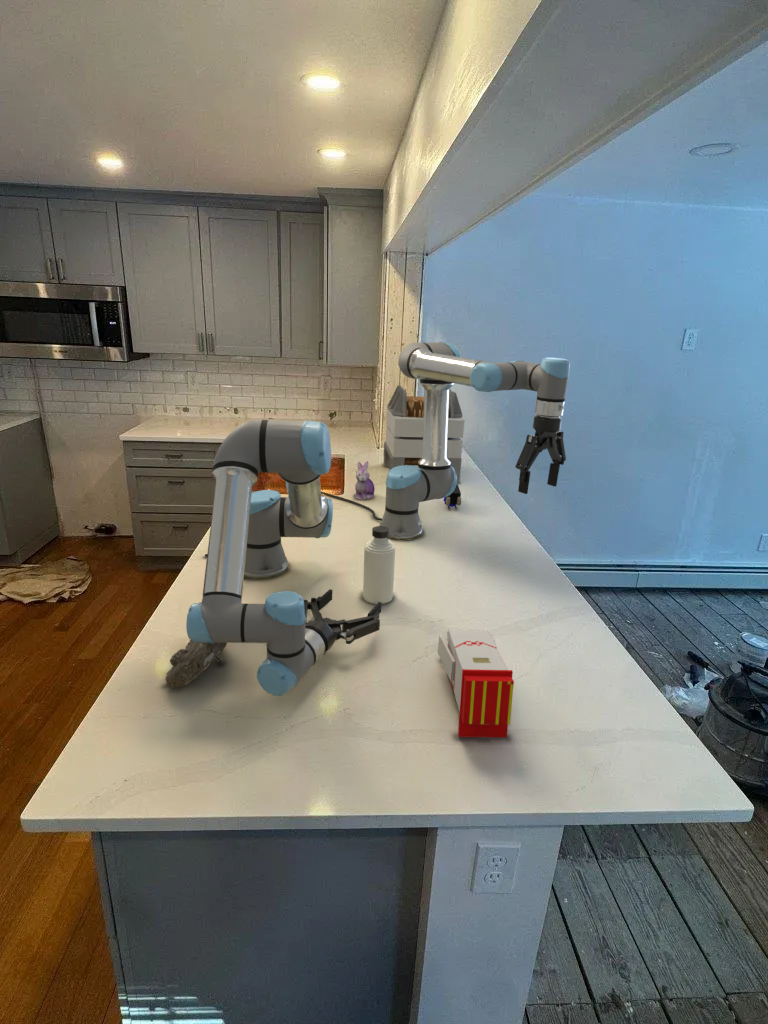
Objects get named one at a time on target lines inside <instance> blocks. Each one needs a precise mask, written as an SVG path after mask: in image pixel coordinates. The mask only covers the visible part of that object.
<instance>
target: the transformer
mask: <svg viewBox="0 0 768 1024" xmlns="http://www.w3.org/2000/svg"><path fill="white" fill-rule="evenodd" d="M407 394H408V393H407V390H406V389H404V388H403V387H402V385H399V384H398V385H397V386H396V388H395V390H394V392H393V394H392V395H391V398H390V400H389V402H388V404H387V405H386V413H385V414H386V415H385V423H386V428H385V438H384V442H383V466H384V467H388V468H389V471H390V470H391V469H392V468H394V467H397V466H402V465H405V466H407V465H413V466H417V467H418V461H419V460H420V459H421V458H422V456H423V419H424V396H415V395H414V396H413V395H412V396H411V395H407ZM464 429H465V419H464V418H463V411H462V408H461V405H460V402H459V398H458V395H457V392H455V391H453V390H452V389H451V388H450V389H449V411H448V436H447V459H448V460H449V461H450V462H451V467H453V468H454V470H455V473H456V475H457V484H459V483H461V472H462V461H463V460H462V453H463V442H464V441H463V440H462V439H463V438H464V431H465V430H464Z"/></svg>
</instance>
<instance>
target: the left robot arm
mask: <svg viewBox="0 0 768 1024" xmlns="http://www.w3.org/2000/svg"><path fill="white" fill-rule="evenodd" d="M331 467H332V445H331V436H330V430H329V428H328V426H327V425H326V424H325V423H324V422H323V421H313V420H311V419H309V420H280V419H261V418H260V419H259V418H258V419H257V418H256V419H251V420H248V421H246V422H243V423H241V424H240V425H238V426H237V427H236V428H234V429H233V430H231V431H230V432H229V434H228V435H227V436H226V437H225V438H224V440H223V441H222V443H221V444H220V446H219V448H218V449H217V452H216V454H215V456H214V459H213V464H212V468H211V469H212V470H211V477H212V479H213V481H214V482H215V487H214V493H213V494H214V495H213V504H212V511H211V519H210V529H209V536H208V545H207V553H205V554H204V557H206V563H205V571H204V579H203V589H202V599H201V602H195V603H192V604H191V605H190V606H189V608H188V613H187V614H186V623H185V624H186V625H185V626H186V635H187V637H188V639H189V640H192V641H193V642H206V643H212V644H214V643H227V644H240V643H241V644H266V658H265V660H263V661H262V663H261V664H260V665H259V666H258V668H257V671H256V679H257V683H258V684H259V685H260V688H262V690H263V691H264V692H266V693H267V694H269V695H272V696H276V697H280V696H281V697H282V696H284V695H287V693H288V692H290V691H291V690H292V689H293V688H295V687H296V686H297V685H298V683H299V682H300V681H301V680H302V679H303V678H304V677H305V676H306V675H307V674H308V673H309V671H310V670H311V669H312V668H313V667H314V666H315V665H316V664H317V663H318V662H319V661H320V659H322V657H324V655H325V654H327V653H328V652H329V651H330V650H331V648H332V647H333V646H334V644H335V643H336V642H337V641H338V640H341V639H342V640H344V641H345V644H346V645H351V644H352V643H353V642H355V641H356V640H359V639H361V638H363V637H366V636H368V635H370V634H373V633H375V632H378V631H380V626H381V620H380V615H381V613H382V609H383V608H382V606H383V604H382V602H378V603H377V604H375V605H374V606H373V607H372V608H371V609H370V610H369V611H368V613H367V616H363V617H358V618H353V619H348V620H347V619H344V618H343V619H338V620H337V619H331V618H330V617H323V615H322V613H321V611H322V609H324V608H325V607H326V606H327V605H328V604H329V603H330V602H331V601H332V600H333V589H331V588H329V589H328V590H327V591H326V592H324V593H323V594H322V595H319V596H317V597H311V598H310V601H309V600H308V599H303V597H302V596H301V595H300V594H299V593H298V592H295V591H291V590H280V591H279V592H277V591H276V592H275V591H274V592H272V593H271V594H269V595H268V596H267V597H266V598H265V602H264V603H242V598H243V592H244V582H245V581H244V580H245V578H248V579H255V580H263V579H264V580H265V579H270V578H275V577H278V576H280V575H282V574H284V573H286V572H287V570H288V568H289V567H288V564H289V562H288V561H289V560H288V558H287V555H286V553H285V550H284V546H283V545H282V538H306V539H307V538H308V539H309V538H311V539H313V538H314V539H320V538H327V537H329V536H330V535H331V532H332V524H333V513H334V512H333V511H334V504H333V500H332V498H329V497H325V495H324V494H321V492H322V488H321V487H322V486H321V477H322V475H326V474H329V472H330V471H331ZM260 473H264V474H266V473H267V474H278V476H279V477H280V478H281V479H282V480H283V481H284V482H285V486H286V491H287V496H282V495H281V493H280V492H279V491H278V490H274V489H263V490H262V489H261V490H256V491H253V486H254V485H256V484H257V483H258V479H259V474H260ZM309 610H310V612H311V615H312V619H311V620H309V621H308V615H309Z"/></svg>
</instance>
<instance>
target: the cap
mask: <svg viewBox="0 0 768 1024" xmlns="http://www.w3.org/2000/svg"><path fill="white" fill-rule="evenodd" d="M371 536H372V537H373V538H374V537H375V538H380V539H383V538H387V537H388V536H389V528H387V527H384V526H380V525H376V526H374V527H372V529H371ZM387 539H388V538H387Z"/></svg>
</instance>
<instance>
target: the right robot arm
mask: <svg viewBox="0 0 768 1024" xmlns="http://www.w3.org/2000/svg"><path fill="white" fill-rule="evenodd" d="M398 367H399V370H400V371H401V373H402V374H403V375H404V376H405V377H407V378H409V379H413V380H419V385H420V386H421V387H422V388H423V397H424V419H423V456H422V458H421V459H420V460H419V461H418V466H413V465H402V466H397V467H394V468H392V469H391V470H390V469H389V470H388V472H387V475H386V479H385V504H384V505H385V507H384V508H385V509H384V513H383V515H382V517H378V516H376V513H375V511H374V510H373V509H372V508H370V507H368V506H367V505H364V504H362V503H359V502H356V501H354V500H351V499H348V498H345V497H342V496H338V495H335V494H331V493H327V492H324V491H321V494H322V495H323V496H327V497H331V498H335V499H338V500H340V501H345V502H348V503H350V504H354V505H356V506H359V507H361V508H364V509H366V510H367V511H369V512H370V513H372V517H373V519H375V520H377V521H379V526H384V527H387V528H389V536H388V537H387V539H389V540H395V541H410V540H415V539H418V538H420V537H421V536H422V535H423V525H422V520H421V518H420V515H419V507H420V506H419V505H420V503H422V502H428V501H433V500H441V499H444V497H447V496H449V495H450V494H451V493H452V492H453V491H454V490H455V487H456V484H458V483H457V475H456V473H455V470H454V468H453V467H451V462H450V461H449V460H448V459H447V436H448V411H449V389H450V390H451V388H452V387H453V386H454V385H455V384H457V385H462V386H466V387H472V388H473V389H475V390H476V391H478V392H484V393H491V392H500V391H516V390H517V391H519V390H526V391H533V392H536V399H535V400H536V401H535V405H534V406H535V407H534V414H535V415H533V421H532V422H533V423H532V428H533V430H534V431H535V432H534V434H533V435H532V434H530V433H528V434H527V435H526V438H525V443H524V445H523V447H522V450H521V452H520V454H519V456H518V459H517V461H516V463H515V469H517V470H519V478H518V489H517V492H518V493H522V494H524V495H528V492H529V485H530V480H531V479H530V478H531V472H532V471H531V470H530V469H531V467H532V466H533V464H534V462H535V461H536V459H537V458H538V456H539V455H540V453H542V452H543V451H545V450H547V452H548V454H549V456H550V459H551V462H550V464H549V469H548V476H547V482H546V483H547V484H546V485H549V486H551V487H557V486H558V478H559V473H560V468H561V466H564V464H565V462H566V459H567V456H566V449H565V443H564V431H562V430H561V429H562V422H563V419H562V416H563V415H564V409H565V402H566V394H567V388H568V384H569V378H570V370H571V369H570V368H571V362H570V360H568V359H566V358H562V357H544V358H542V359H541V363H535V362H529V361H525V360H511V361H509V362H495V361H494V362H493V361H486V360H482V359H481V360H480V359H474V358H466V357H462V354H461V352H460V350H459V349H458V347H457V346H456V345H454V344H452V343H451V342H449V343H448V342H442V341H439V342H438V341H437V342H420V341H419V342H412V343H409V344H408V345H406V346H405V347H404V348H403V349H402V350H401V351H400V353H399V356H398Z"/></svg>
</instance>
